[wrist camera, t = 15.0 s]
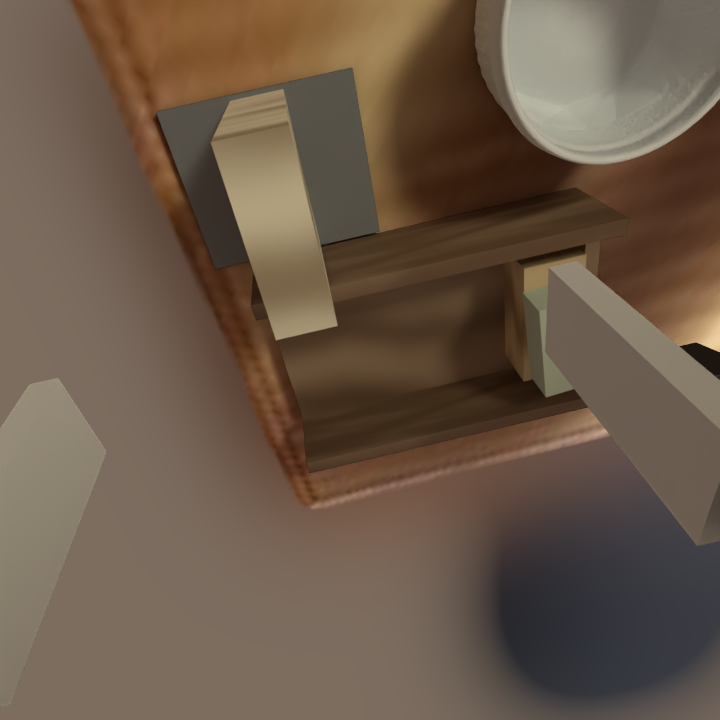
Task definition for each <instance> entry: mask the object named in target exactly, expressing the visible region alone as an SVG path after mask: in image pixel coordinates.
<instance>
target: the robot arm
mask: <svg viewBox="0 0 720 720" xmlns="http://www.w3.org/2000/svg"><path fill="white" fill-rule="evenodd" d="M545 353H546V354H547V355H548V356H549V358H550V359H551V360H552V361H553V363H554V364H555V365H556V367H557V368H558V369H559V370H560V372H561V373H562V374H563V375H564V377H565V378H566V379H567V381H568V382H569V383H570V384H571V386H572V387H573V388H574V389H575V391H576V392H577V393H578V395H579V396H580V397H581V398H582V400H583V401H584V402H585V403H586V405H587V406H588V407H589V409H590V410H591V411H592V412H593V414H594V415H595V416H596V417H597V419H598V420H599V421H600V423H601V424H602V425H603V426H604V428H605V429H606V430H607V431H608V433H609V434H610V435H611V437H612V438H613V439H614V440H615V442H616V443H617V444H618V445H619V447H620V448H621V449H622V450H623V452H624V453H625V454H626V456H627V457H628V458H629V459H630V461H631V462H632V463H633V465H634V466H635V467H636V468H637V470H638V471H639V472H640V473H641V475H642V476H643V477H644V478H645V480H646V481H647V482H648V484H649V485H650V486H651V487H652V489H653V490H654V491H655V493H656V494H657V495H658V496H659V498H660V499H661V500H662V501H663V503H664V504H665V505H666V507H667V508H668V509H669V510H670V512H671V513H672V514H673V515H674V517H675V518H676V519H677V521H678V522H679V523H680V524H681V526H682V527H683V528H684V529H685V531H686V532H687V533H688V535H689V536H690V537H691V538H692V540H693V541H694V542H695V544H696V545H697V546H699V545H703V544H708V543H712V542H716V541H720V352H717V351H715V350H713V349H710V348H708V347H706V346H703V345H701V344H698V343H692V344H687V345H683V346H678V345H677V344H676V343H675V342H673V341H672V340H671V339H670V338H669V337H667V336H666V335H665V334H664V333H663V332H661V331H660V330H659V329H658V328H657V327H655V326H654V325H653V324H652V323H651V322H649V321H648V320H647V319H646V318H645V317H643V316H642V315H641V314H640V313H639V312H637V311H636V310H635V309H634V308H633V307H631V306H630V305H629V304H628V303H627V302H626V301H624V300H623V299H622V298H621V297H620V296H618V295H617V294H616V293H615V292H614V291H612V290H611V289H610V288H609V287H608V286H606V285H605V284H604V283H603V282H602V281H600V280H599V279H598V278H597V277H596V276H594V275H593V274H592V273H591V272H590V271H588V270H587V269H586V268H585V267H584V266H582V265H581V264H580V263H579V262H578V261H574V262H570V263H565V264H561V265H557V266H552V267H549V270H548V295H547V321H546V346H545ZM106 453H107V451H106V450H105V448H104V447H103V445H102V444H101V442H100V441H99V439H98V438H97V436H96V435H95V433H94V432H93V430H92V429H91V427H90V426H89V424H88V423H87V421H86V420H85V418H84V417H83V415H82V414H81V412H80V411H79V409H78V407H77V406H76V404H75V403H74V401H73V400H72V398H71V397H70V395H69V394H68V392H67V391H66V389H65V388H64V386H63V385H62V383H61V382H60V380H59V379H58V378H56V379H52V380H47V381H43V382H38V383H34V384H30V385H29V386H28V387H27V389H26V390H25V392H24V393H23V395H22V396H21V398H20V399H19V401H18V402H17V404H16V405H15V407H14V408H13V410H12V411H11V413H10V414H9V416H8V418H7V419H6V421H5V422H4V424H3V425H2V427H1V428H0V707H2V706H7V705H10V704H11V701H12V698H13V696H14V693H15V691H16V688H17V685H18V683H19V680H20V677H21V675H22V672H23V670H24V667H25V664H26V662H27V659H28V657H29V654H30V651H31V649H32V646H33V643H34V641H35V638H36V636H37V633H38V630H39V628H40V625H41V623H42V620H43V617H44V615H45V612H46V609H47V607H48V604H49V602H50V599H51V596H52V594H53V591H54V589H55V586H56V583H57V581H58V578H59V575H60V573H61V570H62V568H63V565H64V562H65V560H66V557H67V555H68V552H69V549H70V547H71V544H72V541H73V539H74V536H75V533H76V531H77V528H78V526H79V523H80V521H81V518H82V515H83V513H84V510H85V507H86V505H87V502H88V500H89V497H90V494H91V492H92V489H93V487H94V484H95V481H96V478H97V476H98V473H99V471H100V468H101V465H102V463H103V460H104V458H105V455H106Z"/></svg>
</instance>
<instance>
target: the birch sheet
mask: <svg viewBox="0 0 720 720" xmlns="http://www.w3.org/2000/svg"><path fill="white" fill-rule="evenodd" d="M211 145H212V148H213V151H214V154H215V157H216V160H217V163H218V166H219V169H220V172H221V175H222V178H223V181H224V184H225V187H226V191H227V194H228V197H229V200H230V203H231V206H232V209H233V212H234V215H235V218H236V221H237V224H238V227H239V230H240V233H241V236H242V239H243V242H244V245H245V248H246V251H247V254H248V257H249V260H250V263H251V266H252V269H253V272H254V275H255V278H256V281H257V284H258V287H259V290H260V293H261V296H262V299H263V302H264V305H265V308H266V311H267V314H268V317H269V320H270V323H271V326H272V329H273V332H274V335H275V338H276V340H279V339H284V338H288V337H292V336H297V335H301V334H305V333H310V332H314V331H318V330H322V329H327V328H331V327H335V326H338V325H337V320H336V316H335V311H334V306H333V301H332V297H331V292H330V287H329V283H328V278H327V273H326V268H325V264H324V259H323V254H322V249H321V245H320V240H319V236H318V232H317V228H316V223H315V219H314V215H313V211H312V207H311V203H310V198H309V194H308V190H307V186H306V182H305V178H304V173H303V169H302V165H301V161H300V157H299V153H298V148H297V144H296V140H295V136H294V132H293V127H292V123H291V119H290V115H289V111H288V107H287V102H286V98H285V94H284V90H283V89H281V90H277V91H272V92H268V93H263V94H259V95H254V96H250V97H246V98H241V99H237V100H232V101H230V102H229V104H228V106H227V109H226V111H225V113H224V115H223V117H222V119H221V121H220V124H219V126H218V128H217V130H216V132H215V134H214V136H213V139H212V141H211Z"/></svg>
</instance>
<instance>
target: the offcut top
mask: <svg viewBox="0 0 720 720" xmlns="http://www.w3.org/2000/svg"><path fill="white" fill-rule="evenodd" d="M547 295H548V285H546V286H543V287H539V288H536V289H533V290H530V291H527V292H523V302H524V313H525V323H526V334H527V344H528V355H529V365H530V375H531V377H532V379H533V380H534V382H535V383H536V384H537V386H538V387H539V389H540V390H541V391H542V393H543V394H544V396H545V397H549V396H553V395H556V394H559V393H562V392H566V391H569V390H572V389H574V388H573V387H572V386H571V384H570V383H569V382H568V381H567V379H566V378H565V377H564V375H563V374H562V373H561V372H560V370H559V369H558V368H557V367H556V365H555V364H554V363H553V361H552V360H551V359H550V358H549V356H548V355H547V354H546V353H545V346H546V321H547Z"/></svg>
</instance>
